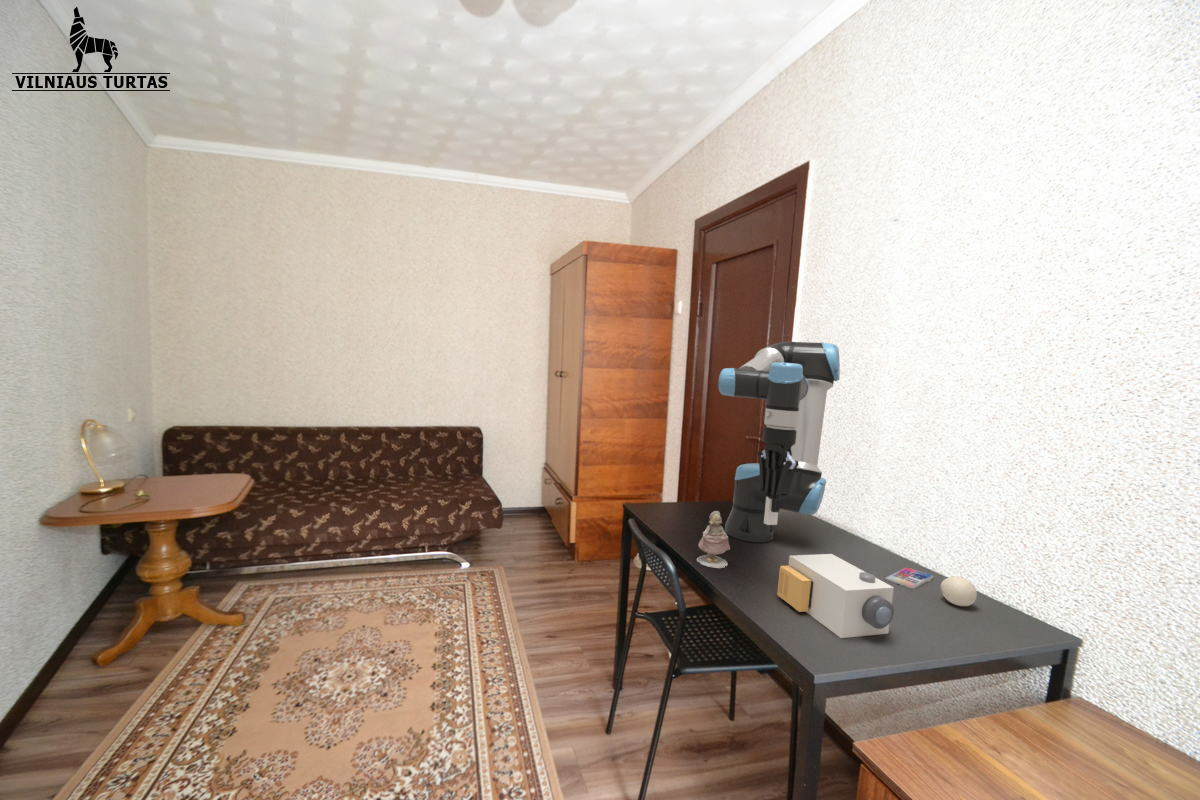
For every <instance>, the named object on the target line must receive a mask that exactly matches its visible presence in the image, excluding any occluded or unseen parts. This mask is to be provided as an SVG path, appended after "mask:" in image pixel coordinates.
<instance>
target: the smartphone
mask: <svg viewBox="0 0 1200 800" xmlns="http://www.w3.org/2000/svg"><path fill="white" fill-rule="evenodd" d="M934 578H935V577H934V575H932V574H929V573H926V572H924V571H921V570H917V569H914V568H910V567H904V568H902V569H900V570H897V571H896V572H894V573H892V574H890V575H887V576H885V577H884V580H885V581H887V582H890V583H892V584H895V585H899V586H901V587H904V588H906V589H908V590H916V589H918V588H920V587H921V586H923V585H925V584H927V583H929V582H930V581H932V580H934Z"/></svg>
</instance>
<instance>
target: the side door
mask: <svg viewBox="0 0 1200 800" xmlns="http://www.w3.org/2000/svg"><path fill="white" fill-rule="evenodd" d="M777 583H778V584H777V592H776V595H777V596H778V597H779V598H780V599H781V600H784V601H785V602H786V603H787V604H789V605H790V606H791V607H792V608H793V609H795V610H796V611H797V612H799V613H800V612H801V613H802V612H805V611H808V605H809V596H810V587H811V580H810V579H808V578H806V577H805V576H803V575H802V574H800V573H799V572H797V571H796V570H794V569H793V568H791V567H789V565H780V566H779V572H778V582H777Z"/></svg>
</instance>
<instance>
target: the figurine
mask: <svg viewBox="0 0 1200 800" xmlns="http://www.w3.org/2000/svg"><path fill="white" fill-rule="evenodd" d="M708 523H709V524H708V525H707V526H706V528H705V530H704V531H702V537H701V538H700V540H699V542H698V547H699V550H701V551H702V552H704V553H707V554H704V555H699V556H698V557H697V558H696V562H698V563H699V564H700V565H701V566H702V565H703V566H706V567H708V568H714V569H722V568H726V567H728V564H729V563H728V561H727V560H726V559H724V558H722V557H720V556H717V555H721V554H724V553H725V552H726V551H730V550H731V547H730V546H731V545H730V543H729V535H728V534H727V533H726V532H725V529H724V527H723V526H722V525H721V524H723V521H722V516H721V513H720V511H719V510H714V511H712V512H711V513H710V515H709V521H708ZM689 563H690V564H692V562H689ZM725 566H726V567H725Z"/></svg>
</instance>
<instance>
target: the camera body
mask: <svg viewBox="0 0 1200 800" xmlns="http://www.w3.org/2000/svg"><path fill="white" fill-rule="evenodd" d="M788 566H789V567H791V568H793V569H794V570H796V571H797V572H799V573H800V574H802V575H803V576H805V577H806V578H808V579H810V580H811V587H810V596H809V605H808V611H804V612H805V613H807V614H808V615H809V616H811V617H812V618H813V619H814V620H816V621H817V622H819V623H820V624H821V625H822V626H824V627H825V628H826V629H828V630H829V631H831V632H832V633H833V634H835V635H836V636H837V637H839V638H840V639H846V638H847V639H848V638H856V637H857V638H858V637H866V636H878V635H879V636H880V635H886V634H887V635H888V634H889V631H890V623H891V622H892V620H893V617H894V606H893V597H894V589H895V588H894V586H892V585H890V584H888V583H887V582H884V581H883V580H881V579H879V578H877V577H876V576H875V574H872V573H869V572H866V571H864V570H863V569H860V568H859V567H858V566H855V565H853V564H851V563H850V562H847V561H846V560H844V559H842V558H840V557H838V556H837V555H834V554H833V553H820V554H818V553H817V554H799V555H795V554H794V555H789V556H788Z"/></svg>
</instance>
